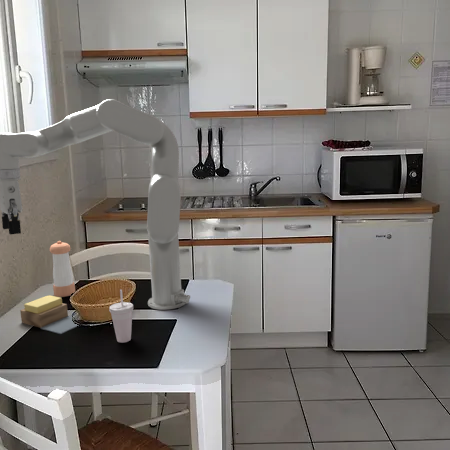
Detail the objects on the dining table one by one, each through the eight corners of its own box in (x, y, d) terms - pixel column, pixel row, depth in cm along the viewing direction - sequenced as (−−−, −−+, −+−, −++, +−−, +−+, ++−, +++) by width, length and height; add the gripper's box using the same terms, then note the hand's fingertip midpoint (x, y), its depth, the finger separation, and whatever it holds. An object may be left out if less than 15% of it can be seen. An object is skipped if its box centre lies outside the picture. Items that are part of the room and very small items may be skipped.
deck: (68, 316, 154) (66, 304, 153) (41, 327, 145) (39, 315, 145) (48, 311, 158) (47, 299, 158) (21, 322, 150) (20, 310, 149)
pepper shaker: (54, 291, 179) (49, 239, 175) (75, 289, 180) (70, 238, 177) (53, 298, 172) (47, 244, 168) (75, 295, 173) (69, 242, 170)
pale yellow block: (49, 301, 156) (48, 295, 156) (62, 304, 153) (61, 297, 153) (24, 310, 149) (24, 304, 148) (37, 313, 146) (37, 307, 145)
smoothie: (139, 335, 137) (136, 287, 134) (129, 345, 131) (125, 295, 128) (119, 334, 139) (115, 286, 136) (107, 343, 133) (103, 293, 130)
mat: (89, 320, 149) (89, 319, 149) (60, 334, 140) (60, 333, 140) (70, 316, 154) (69, 315, 154) (40, 328, 145) (40, 327, 145)
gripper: (26, 176, 142) (31, 234, 146) (14, 172, 157) (18, 225, 160) (-2, 177, 138) (3, 237, 142) (-12, 173, 152) (-7, 228, 156)
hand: (11, 231), depth 151 cm, fingers open, 9 cm apart
